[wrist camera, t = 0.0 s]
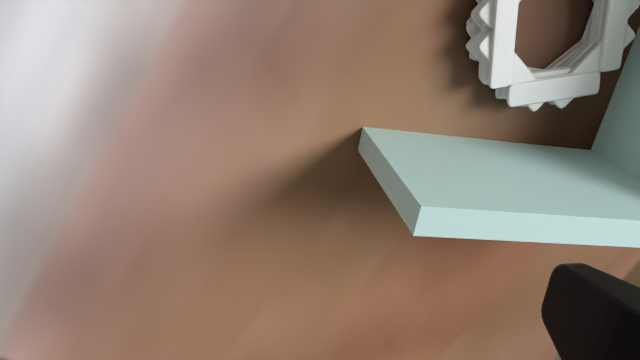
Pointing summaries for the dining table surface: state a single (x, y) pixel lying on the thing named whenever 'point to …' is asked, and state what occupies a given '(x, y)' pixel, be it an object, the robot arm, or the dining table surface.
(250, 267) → the dining table surface
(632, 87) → the right angle wall
